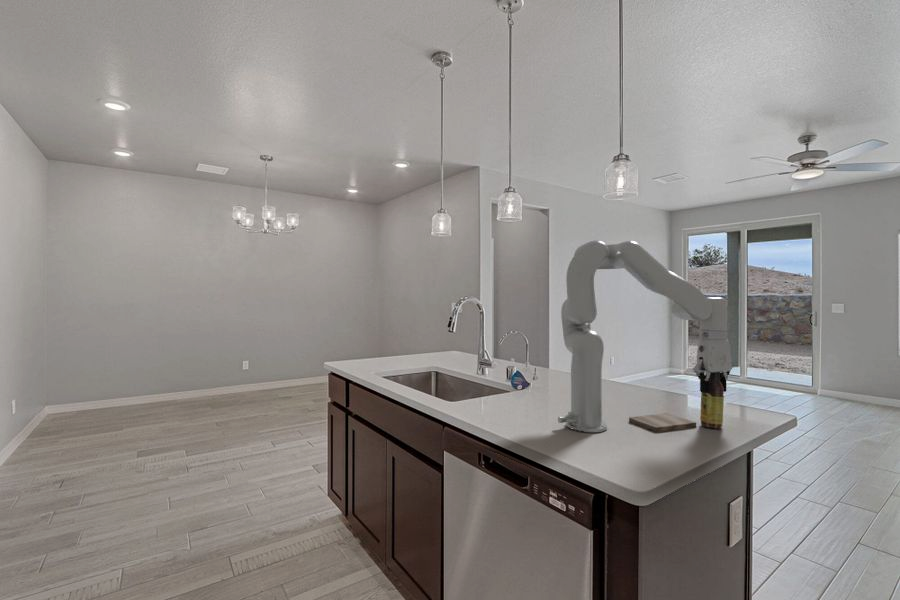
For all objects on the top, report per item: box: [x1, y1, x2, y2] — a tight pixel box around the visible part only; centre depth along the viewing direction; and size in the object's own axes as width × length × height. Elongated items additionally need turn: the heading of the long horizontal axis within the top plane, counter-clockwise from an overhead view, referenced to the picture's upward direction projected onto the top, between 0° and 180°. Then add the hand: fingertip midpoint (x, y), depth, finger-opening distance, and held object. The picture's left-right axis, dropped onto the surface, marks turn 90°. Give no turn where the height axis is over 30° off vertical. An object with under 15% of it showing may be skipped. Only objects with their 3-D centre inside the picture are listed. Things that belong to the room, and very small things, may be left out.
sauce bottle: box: [699, 372, 725, 430], centre depth 141 cm, size 6×6×20 cm
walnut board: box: [628, 412, 697, 433], centre depth 144 cm, size 16×12×2 cm
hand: (713, 391), depth 140 cm, fingers closed on sauce bottle, 6 cm apart
